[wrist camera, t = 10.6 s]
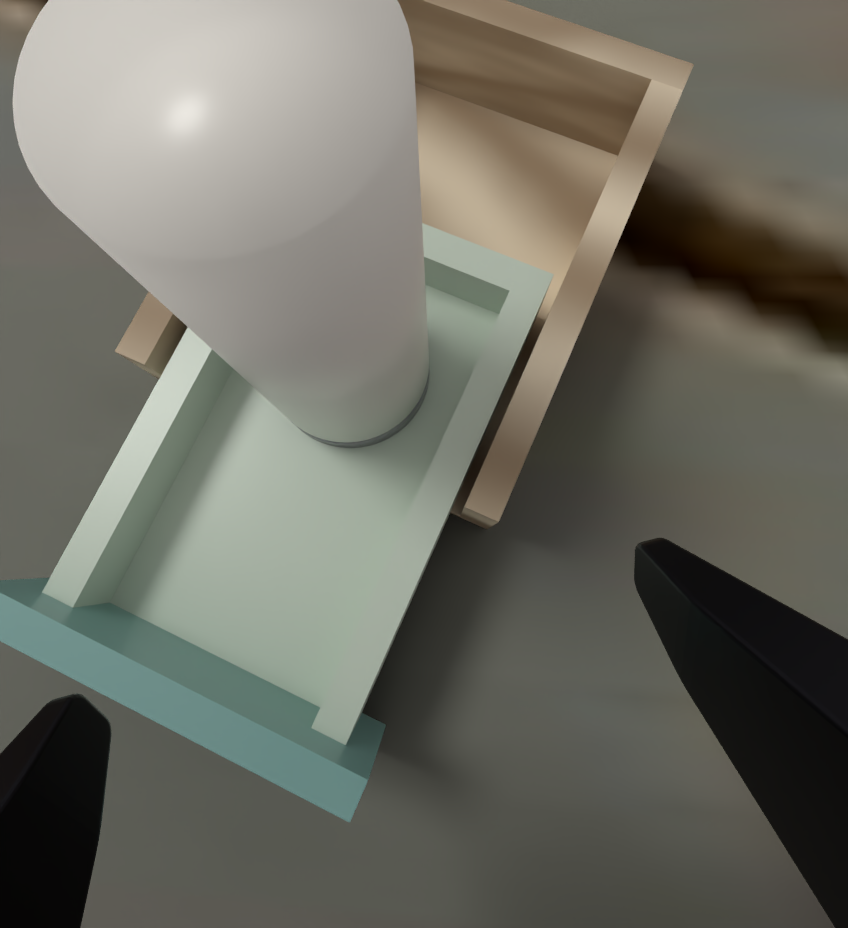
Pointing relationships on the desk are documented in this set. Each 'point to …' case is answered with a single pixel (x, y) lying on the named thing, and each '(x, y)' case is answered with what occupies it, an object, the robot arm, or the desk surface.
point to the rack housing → (515, 185)
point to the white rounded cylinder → (249, 185)
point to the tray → (275, 545)
